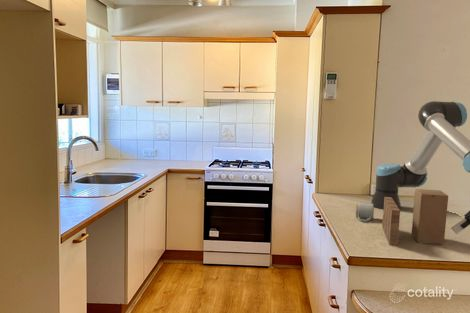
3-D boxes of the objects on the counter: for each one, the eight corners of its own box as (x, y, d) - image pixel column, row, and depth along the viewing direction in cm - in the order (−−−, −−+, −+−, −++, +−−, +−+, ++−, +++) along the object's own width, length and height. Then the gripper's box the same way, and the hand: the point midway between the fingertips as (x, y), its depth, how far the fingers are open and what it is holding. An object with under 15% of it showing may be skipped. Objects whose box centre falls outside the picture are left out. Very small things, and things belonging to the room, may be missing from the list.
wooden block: (444, 244, 153) (448, 195, 151) (417, 242, 155) (421, 193, 153) (436, 236, 163) (440, 190, 161) (411, 234, 165) (414, 188, 163)
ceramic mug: (355, 215, 193) (356, 200, 192) (373, 217, 190) (374, 202, 189) (354, 221, 183) (355, 205, 182) (373, 223, 180) (374, 207, 179)
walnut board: (382, 227, 175) (384, 196, 173) (389, 227, 174) (391, 197, 172) (389, 244, 152) (391, 210, 150) (397, 245, 151) (400, 210, 149)
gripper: (520, 205, 144) (465, 243, 150) (505, 197, 156) (455, 233, 162) (505, 190, 144) (451, 228, 150) (491, 183, 157) (442, 219, 163)
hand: (453, 231), depth 156 cm, fingers closed
